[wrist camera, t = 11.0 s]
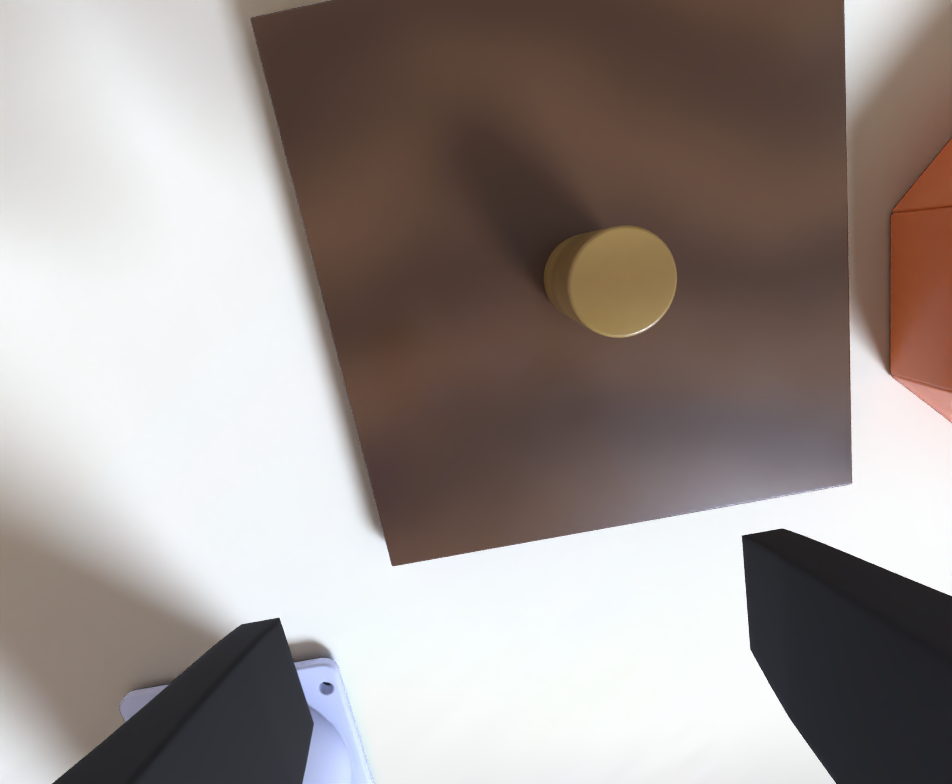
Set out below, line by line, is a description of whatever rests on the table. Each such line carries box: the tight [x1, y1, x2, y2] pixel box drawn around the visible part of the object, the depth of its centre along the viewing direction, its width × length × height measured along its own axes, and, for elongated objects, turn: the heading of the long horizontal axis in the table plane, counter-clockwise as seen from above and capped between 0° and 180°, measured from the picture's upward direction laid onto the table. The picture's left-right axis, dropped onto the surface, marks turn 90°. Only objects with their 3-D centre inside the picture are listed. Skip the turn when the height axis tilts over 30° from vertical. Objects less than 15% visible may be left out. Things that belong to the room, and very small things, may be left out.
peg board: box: [251, 0, 852, 566], centre depth 14 cm, size 16×15×5 cm
